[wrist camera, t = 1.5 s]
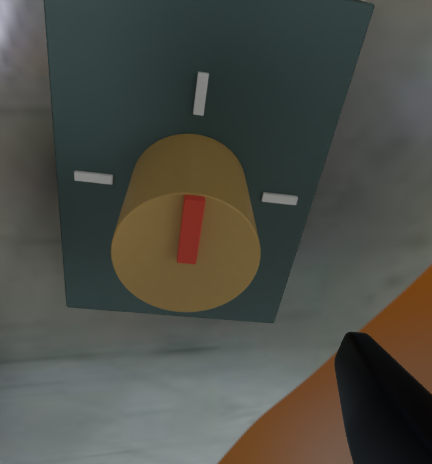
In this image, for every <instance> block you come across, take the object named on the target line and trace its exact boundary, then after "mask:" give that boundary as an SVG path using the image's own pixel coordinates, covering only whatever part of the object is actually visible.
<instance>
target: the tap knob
mask: <svg viewBox="0 0 432 464" xmlns="http://www.w3.org/2000/svg"><path fill="white" fill-rule="evenodd" d="M260 252H261V249H260V243H259V238H258V233H257V229H256V224H255V219H254V215H253V210H252V206H251V201H250V197H249V192H248V187H247V183H246V178H245V174H244V171H243V168H242V166H241V164H240V162H239V160H238V159H237V157H236V156H235V155H234V154H233V153H232V151H231V150H229V149H228V148H227V147H226V146H225V145H223V144H222V143H220V142H218V141H216V140H214V139H212V138H209V137H206V136H203V135H198V134H177V135H172V136H169V137H166V138H163V139H161V140H159V141H157V142H156V143H154V144H153V145H151V146H150V147H149V148H148V149H147V150H145V151H144V153H143V154H142V155H141V156H140V158H139V159H138V161H137V163H136V165H135V167H134V170H133V173H132V176H131V180H130V183H129V186H128V190H127V193H126V196H125V199H124V203H123V206H122V209H121V212H120V216H119V219H118V222H117V225H116V229H115V232H114V235H113V239H112V243H111V259H112V263H113V267H114V269H115V272H116V274H117V276H118V278H119V279H120V281H121V282H122V284H123V285H124V286H125V287H126V288H127V289H128V290H129V291H130V292H131V293H132V294H133V295H135V296H136V297H137V298H139V299H140V300H142V301H144V302H146V303H148V304H150V305H152V306H155V307H158V308H161V309H165V310H169V311H176V312H198V311H204V310H209V309H212V308H216V307H218V306H221V305H223V304H225V303H227V302H229V301H231V300H232V299H234V298H235V297H237V296H238V295H239V294H241V293H242V292H243V291H244V290H245V289H246V288H247V287H248V285H249V284H250V283H251V281H252V280H253V278H254V276H255V274H256V272H257V269H258V267H259V262H260Z"/></svg>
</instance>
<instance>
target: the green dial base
mask: <svg viewBox="0 0 432 464" xmlns="http://www.w3.org/2000/svg"><path fill="white" fill-rule="evenodd" d="M373 9H374V4H372V3H367V2H363V1H359V0H44V10H45V23H46V37H47V50H48V64H49V77H50V90H51V104H52V117H53V131H54V144H55V158H56V171H57V184H58V198H59V211H60V225H61V238H62V252H63V265H64V279H65V292H66V305H67V307H71V308H84V309H97V310H109V311H122V312H135V313H148V314H161V315H173V316H186V317H199V318H212V319H224V320H237V321H250V322H263V323H274V321H275V318H276V315H277V311H278V308H279V305H280V302H281V299H282V296H283V293H284V289H285V286H286V283H287V280H288V277H289V274H290V270H291V267H292V264H293V261H294V258H295V255H296V252H297V248H298V245H299V242H300V239H301V236H302V233H303V230H304V226H305V223H306V220H307V217H308V214H309V211H310V208H311V204H312V201H313V198H314V195H315V192H316V189H317V186H318V182H319V179H320V176H321V173H322V170H323V167H324V164H325V160H326V157H327V154H328V151H329V148H330V145H331V142H332V138H333V135H334V132H335V129H336V126H337V123H338V120H339V116H340V113H341V110H342V107H343V104H344V101H345V98H346V94H347V91H348V88H349V85H350V82H351V79H352V76H353V72H354V69H355V66H356V63H357V60H358V57H359V54H360V50H361V47H362V44H363V41H364V38H365V35H366V32H367V28H368V25H369V22H370V19H371V16H372V13H373ZM177 134H198V135H203V136H206V137H209V138H212V139H214V140H216V141H218V142H220V143H222V144H223V145H225V146H226V147H227V148H228V149H229V150H231V151H232V153H233V154H234V155H235V156H236V157H237V159H238V160H239V162H240V164H241V166H242V168H243V171H244V174H245V178H246V183H247V187H248V192H249V197H250V201H251V206H252V210H253V215H254V219H255V224H256V229H257V233H258V238H259V243H260V249H261V252H260V262H259V267H258V269H257V272H256V274H255V276H254V278H253V280H252V281H251V283H250V284H249V285H248V287H247V288H246V289H245V290H244V291H243V292H242V293H241V294H239V295H238V296H237V297H235V298H234V299H232V300H231V301H229V302H227V303H225V304H223V305H221V306H218V307H216V308H212V309H209V310H204V311H198V312H176V311H169V310H165V309H161V308H158V307H155V306H152V305H150V304H148V303H146V302H144V301H142V300H140V299H139V298H137V297H136V296H135V295H133V294H132V293H131V292H130V291H129V290H128V289H127V288H126V287H125V286H124V285H123V284H122V282H121V281H120V279H119V278H118V276H117V274H116V272H115V269H114V267H113V263H112V259H111V243H112V239H113V235H114V232H115V229H116V225H117V222H118V219H119V216H120V212H121V209H122V206H123V203H124V199H125V196H126V193H127V190H128V186H129V183H130V180H131V176H132V173H133V170H134V167H135V165H136V163H137V161H138V159H139V158H140V156H141V155H142V154H143V153H144V151H145V150H147V149H148V148H149V147H150V146H151V145H153V144H154V143H156V142H157V141H159V140H161V139H163V138H166V137H169V136H172V135H177Z"/></svg>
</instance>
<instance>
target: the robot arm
mask: <svg viewBox="0 0 432 464" xmlns="http://www.w3.org/2000/svg"><path fill="white" fill-rule="evenodd" d="M335 372H336V378H337V384H338V390H339V396H340V403H341V409H342V414H343V421H344V426H345V432H346V437H347V441H348V444H349V449H350V453H351V456H352V460H353V464H432V394H430V393H429V391H427V390H426V389H425V388H424V387H423V386H422V385H421V384H420V383H419V382H418V381H417V380H416V379H415V378H414V377H413V376H412V375H411V374H410V373H408V372H407V371H406V370H405V369H404V368H403V367H402V366H401V365H400V364H399V363H398V362H397V361H396V360H395V359H394V358H392V357H391V356H390V355H389V354H388V353H387V352H386V351H385V350H384V349H383V348H382V347H381V346H380V345H379V344H378V343H377V342H376V341H375V340H374V339H372V338H371V337H370V336H369V335H368V334H366V333H359V332H348V333H347V334H345V336H344V338H343V340H342V343H341V345H340V347H339V349H338V352H337V354H336V357H335Z"/></svg>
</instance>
